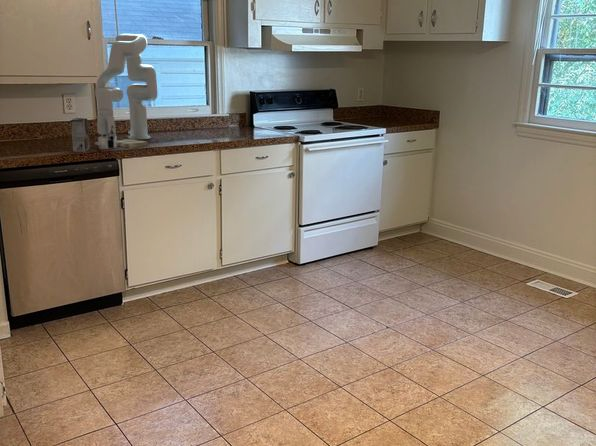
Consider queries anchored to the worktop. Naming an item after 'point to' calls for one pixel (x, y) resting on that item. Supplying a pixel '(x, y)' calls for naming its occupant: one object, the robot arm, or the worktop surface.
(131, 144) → the maple board
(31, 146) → the worktop surface
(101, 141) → the connector
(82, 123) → the coffee box
